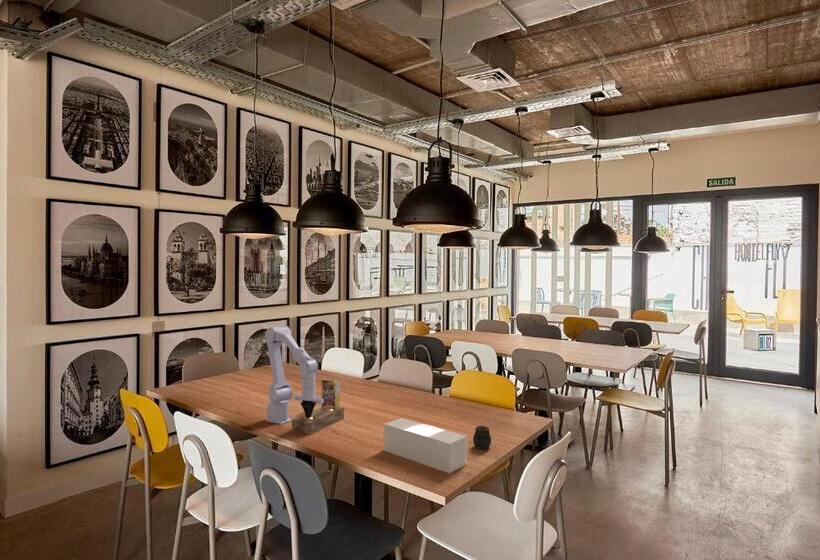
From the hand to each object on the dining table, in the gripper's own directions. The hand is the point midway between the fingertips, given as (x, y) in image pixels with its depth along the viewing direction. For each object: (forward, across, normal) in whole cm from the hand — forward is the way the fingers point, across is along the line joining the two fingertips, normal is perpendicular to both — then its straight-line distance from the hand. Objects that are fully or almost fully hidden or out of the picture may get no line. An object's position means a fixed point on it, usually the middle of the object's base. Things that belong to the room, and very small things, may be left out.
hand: (308, 417), depth 212 cm
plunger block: (+5, 0, -8) cm, 10 cm away
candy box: (+6, +9, -30) cm, 32 cm away
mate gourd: (+6, -75, -15) cm, 77 cm away
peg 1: (+5, 0, 0) cm, 5 cm away
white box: (+6, -58, +5) cm, 59 cm away
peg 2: (+5, 0, -16) cm, 17 cm away
